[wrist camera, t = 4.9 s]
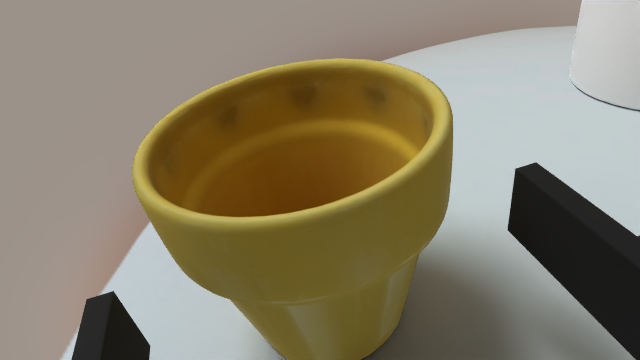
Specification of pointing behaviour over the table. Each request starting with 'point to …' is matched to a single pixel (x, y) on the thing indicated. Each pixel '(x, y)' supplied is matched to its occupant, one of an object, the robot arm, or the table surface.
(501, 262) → the table surface
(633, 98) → the cup
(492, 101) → the table surface
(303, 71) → the flower pot
